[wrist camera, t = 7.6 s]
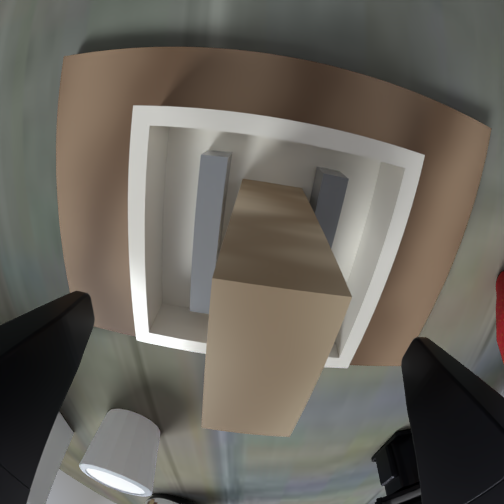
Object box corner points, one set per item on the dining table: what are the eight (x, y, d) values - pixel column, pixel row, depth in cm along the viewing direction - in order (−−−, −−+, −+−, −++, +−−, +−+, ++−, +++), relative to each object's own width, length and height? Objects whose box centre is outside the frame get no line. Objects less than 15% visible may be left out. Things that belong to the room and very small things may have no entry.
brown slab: (480, 126, 12) (491, 128, 11) (396, 356, 19) (400, 365, 18) (74, 58, 11) (63, 56, 10) (83, 312, 18) (76, 321, 17)
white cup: (94, 396, 23) (68, 456, 16) (164, 416, 23) (147, 483, 17) (108, 430, 26) (90, 481, 19) (168, 447, 26) (156, 502, 20)
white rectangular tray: (393, 144, 12) (424, 155, 9) (337, 330, 16) (347, 368, 14) (160, 106, 12) (133, 105, 9) (153, 304, 16) (136, 340, 13)
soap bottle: (26, 413, 27) (-21, 515, 10) (-1, 370, 24) (-67, 484, 6) (75, 433, 27) (32, 551, 10) (49, 393, 24) (-15, 531, 6)
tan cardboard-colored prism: (302, 188, 12) (352, 297, 5) (280, 288, 15) (289, 436, 7) (242, 178, 12) (211, 277, 5) (228, 281, 14) (201, 427, 7)
